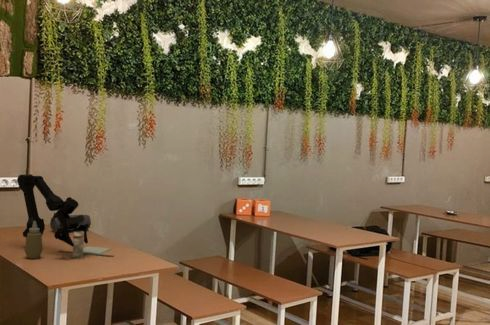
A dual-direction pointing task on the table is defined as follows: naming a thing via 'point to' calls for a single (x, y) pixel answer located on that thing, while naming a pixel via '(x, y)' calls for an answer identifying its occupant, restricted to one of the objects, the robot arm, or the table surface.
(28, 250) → the squeeze bottle
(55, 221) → the bluetooth speaker
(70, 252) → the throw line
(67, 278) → the table surface
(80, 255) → the skittle
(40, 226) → the robot arm
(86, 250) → the mat
